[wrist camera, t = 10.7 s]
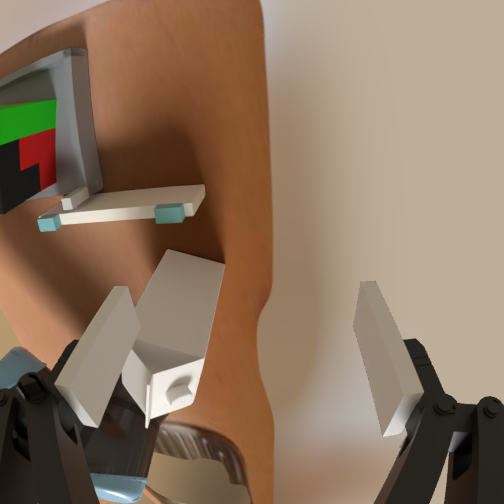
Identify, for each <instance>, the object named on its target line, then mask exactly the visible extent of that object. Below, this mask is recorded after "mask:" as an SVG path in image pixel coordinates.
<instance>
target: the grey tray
mask: <svg viewBox="0 0 504 504" xmlns="http://www.w3.org/2000/svg"><path fill="white" fill-rule="evenodd" d="M44 100H57V108H56V178H57V182H56V183H55V184H53V185H51V186H49V187H48V188H46V189H44V190H42V191H41V192H39V193H37V194H36V195H34V196H32V197H31V198H29V199H27V200H26V201H28V200H34V199H40V198H47V197H53V196H59V195H66V194H68V195H66V196H65V197H63V198H62V199H61V201H62V205H63V209H64V210H71V209H74V208H75V207H77V206H78V205H79V204H81V203H82V202H84V201H85V200H86V199H88V198H89V197H91V196H92V195H93V194H95V193H96V192H98V191H99V190H101V189H102V188H104V186H103V180H102V175H101V169H100V163H99V157H98V151H97V144H96V137H95V130H94V122H93V114H92V105H91V95H90V83H89V69H88V50H87V49H82V48H75V47H69V48H67V49H64V50H61V51H59V52H56V53H54V54H52V55H49V56H47V57H44V58H42V59H40V60H38V61H35V62H33V63H31V64H29V65H27V66H25V67H22V68H20V69H18V70H16V71H14V72H12V73H10V74H8V75H6V76H5V77H3V78H1V79H0V106H1V105H8V104H16V103H24V102H33V101H44Z"/></svg>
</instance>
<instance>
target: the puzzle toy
mask: <svg viewBox="0 0 504 504" xmlns="http://www.w3.org/2000/svg"><path fill="white" fill-rule="evenodd" d="M56 108H57V100H44V101H33V102H24V103H16V104H8V105H1V106H0V214H5V213H7V212H8V211H10V210H12V209H13V208H15V207H16V206H18V205H19V204H21V203H23V202H24V201H26V200H27V199H29V198H31V197H32V196H34V195H36V194H37V193H39V192H41V191H42V190H44V189H46V188H48V187H49V186H51V185H53V184H55V183H56V182H57V178H56Z"/></svg>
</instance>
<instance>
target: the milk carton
mask: <svg viewBox="0 0 504 504" xmlns="http://www.w3.org/2000/svg"><path fill="white" fill-rule="evenodd" d="M224 269H225V264H222V263H219V262H215V261H211V260H207V259H204V258H200V257H196V256H192V255H189V254H185V253H181V252H178V251H174V250H170V249H167V251H166V252H165V254H164V256H163V258H162V259H161V261H160V263H159V265H158V266H157V268H156V270H155V272H154V274H153V275H152V277H151V279H150V281H149V283H148V284H147V286H146V288H145V290H144V292H143V293H142V295H141V297H140V299H139V301H138V303H137V305H136V306H135V311H136V315H137V318H138V321H139V324H140V327H141V329H140V331H139V333H138V335H137V337H136V340H135V342H134V344H133V346H132V349H131V351H130V353H129V355H128V358H127V360H126V362H125V364H124V367H123V369H122V384H123V385H124V387H125V388H126V389H127V391H128V392H129V393H130V395H131V396H132V398H133V399H134V400H135V402H136V403H137V404H138V406H139V407H140V408H141V410H142V411H143V412H144V413H145V415H146V426H145V428H148V425H149V422H150V419H152V418H155V417H158V416H161V415H164V414H166V413H169V412H172V411H175V410H178V409H180V408H183V407H186V406H188V405H191V404H192V403H193V401H194V398H195V394H196V391H197V387H198V383H199V380H200V376H201V372H202V368H203V365H204V360H205V356H206V352H207V347H208V342H209V337H210V333H211V328H212V324H213V319H214V314H215V310H216V305H217V301H218V296H219V292H220V287H221V283H222V278H223V274H224Z"/></svg>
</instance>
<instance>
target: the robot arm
mask: <svg viewBox="0 0 504 504" xmlns="http://www.w3.org/2000/svg"><path fill="white" fill-rule="evenodd" d="M353 327H354V331H355V334H356V337H357V341H358V344H359V348H360V351H361V355H362V358H363V362H364V365H365V369H366V373H367V376H368V380H369V384H370V387H371V392H372V395H373V399H374V403H375V407H376V411H377V416H378V420H379V424H380V428H381V432H382V436H383V437H384V436H389V435H395V434H400V433H401V432H402V430H403V429H404V427H406V431H407V434H408V435H407V436H406V438H405V439H404V441H403V442H402V444H401V445H400V448H401V449H400V451H399V454H398V456H397V458H396V461H395V463H394V465H393V467H392V469H391V471H390V473H389V475H388V478H387V479H386V481H385V483H384V485H383V487H382V489H381V491H380V493H379V495H378V496H377V498H376V500H375V502H374V504H429V503H430V501H431V498H432V495H433V493H434V491H435V488H436V485H437V482H438V480H439V477H440V475H441V472H442V469H443V466H444V463H445V460H446V457H447V454H448V452H449V460H448V473H447V484H446V493H445V501H444V504H504V405H503V404H502V403H501V401H500V400H498V399H497V398H495V397H491V396H489V397H484V398H482V399H481V400H480V402H479V403H478V404H477V405H476V404H475V405H474V404H461V403H457V401H456V400H455V399H454V398H453V397H452V396H450V395H448V394H445V392H444V390H443V388H442V385H441V383H440V381H439V378H438V376H437V374H436V372H435V369H434V367H433V365H432V363H431V361H430V358H428V354H427V353H426V350H425V348H424V346H423V345H422V344H421V343H420V342H419V341H418V340H417V339H408V340H403V339H402V337H401V335H400V332H399V330H398V328H397V325H396V323H395V321H394V319H393V317H392V315H391V312H390V310H389V308H388V306H387V304H386V302H385V299H384V297H383V295H382V293H381V291H380V289H379V287H378V285H377V283H376V281H365V282H360V288H359V294H358V301H357V307H356V313H355V318H354V324H353ZM140 329H141V327H140V324H139V321H138V318H137V315H136V311H135V308H134V305H133V302H132V299H131V296H130V292H129V289H128V286H114V287H113V289H112V290H111V292H110V293H109V295H108V296H107V298H106V299H105V301H104V302H103V304H102V306H101V307H100V309H99V310H98V312H97V313H96V315H95V316H94V318H93V320H92V321H91V323H90V324H89V326H88V327H87V329H86V331H85V332H84V334H83V335H82V337H81V339H80V340H75V339H74V340H73V341H72V342H71V343H70V344H69V345H68V346H66V348H65V350H64V351H63V353H62V356H60V358H59V359H58V363H56V364H55V366H54V368H53V369H52V371H51V370H50V369H49V368H48V367H47V364H46V363H44V362H43V363H42V362H41V361H40V360H39V359H38V358H36V357H35V356H34V355H33V354H32V353H30V352H29V351H28V350H27V349H25V348H23V347H15V348H13V349H11V350H10V351H9V352H8V353H7V354H6V355H5V356H4V357H3V358H2V359H1V360H0V504H100V503H99V500H98V498H100V499H104V500H109V501H113V502H119V503H134V502H136V501H138V500H139V499H140V498H141V496H142V493H143V490H144V487H145V485H146V482H147V481H148V479H147V477H148V472H149V468H150V464H151V460H152V456H153V452H154V448H155V444H156V440H157V435H158V432H159V428H160V425H161V424H162V423H163V421H164V420H165V419H166V417H167V416H168V415H169V413H170V412H169V413H166V414H164V415H161V416H158V417H155V418H152V419H150V422H149V425H148V428H145V426H146V415H145V413H144V412H143V411H142V410H141V408H140V407H139V406H138V404H137V403H136V402H135V400H134V399H133V398H132V396H131V395H130V393H129V392H128V391H127V389H126V388H125V387H124V385H123V384H122V369H123V367H124V364H125V362H126V360H127V358H128V355H129V353H130V351H131V349H132V346H133V344H134V342H135V340H136V337H137V335H138V333H139V331H140Z"/></svg>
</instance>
